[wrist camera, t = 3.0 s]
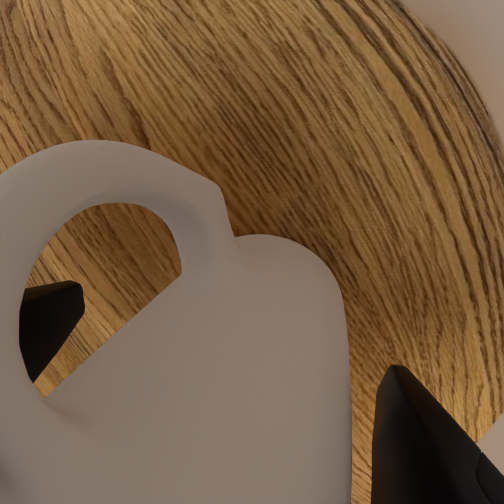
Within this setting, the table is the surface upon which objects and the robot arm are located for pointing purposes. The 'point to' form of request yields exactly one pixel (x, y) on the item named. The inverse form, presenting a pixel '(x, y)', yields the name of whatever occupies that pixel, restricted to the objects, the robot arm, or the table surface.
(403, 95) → the table surface
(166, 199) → the mug
